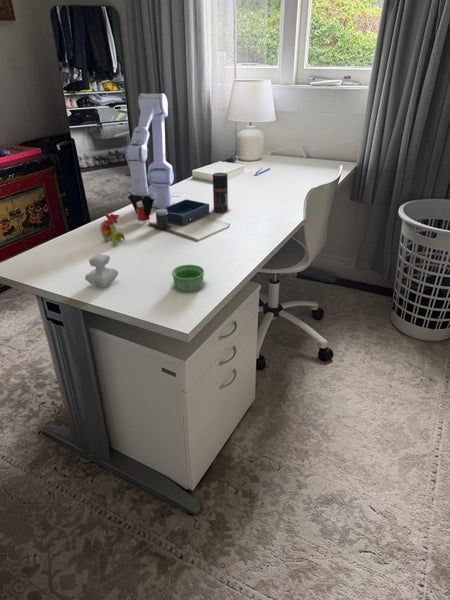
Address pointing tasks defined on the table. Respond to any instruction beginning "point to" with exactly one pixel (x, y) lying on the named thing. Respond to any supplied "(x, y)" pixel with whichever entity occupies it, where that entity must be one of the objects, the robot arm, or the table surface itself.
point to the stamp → (101, 271)
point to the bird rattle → (110, 229)
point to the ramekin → (188, 277)
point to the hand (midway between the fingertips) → (143, 214)
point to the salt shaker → (141, 212)
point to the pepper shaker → (162, 219)
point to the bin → (186, 211)
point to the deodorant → (220, 192)
